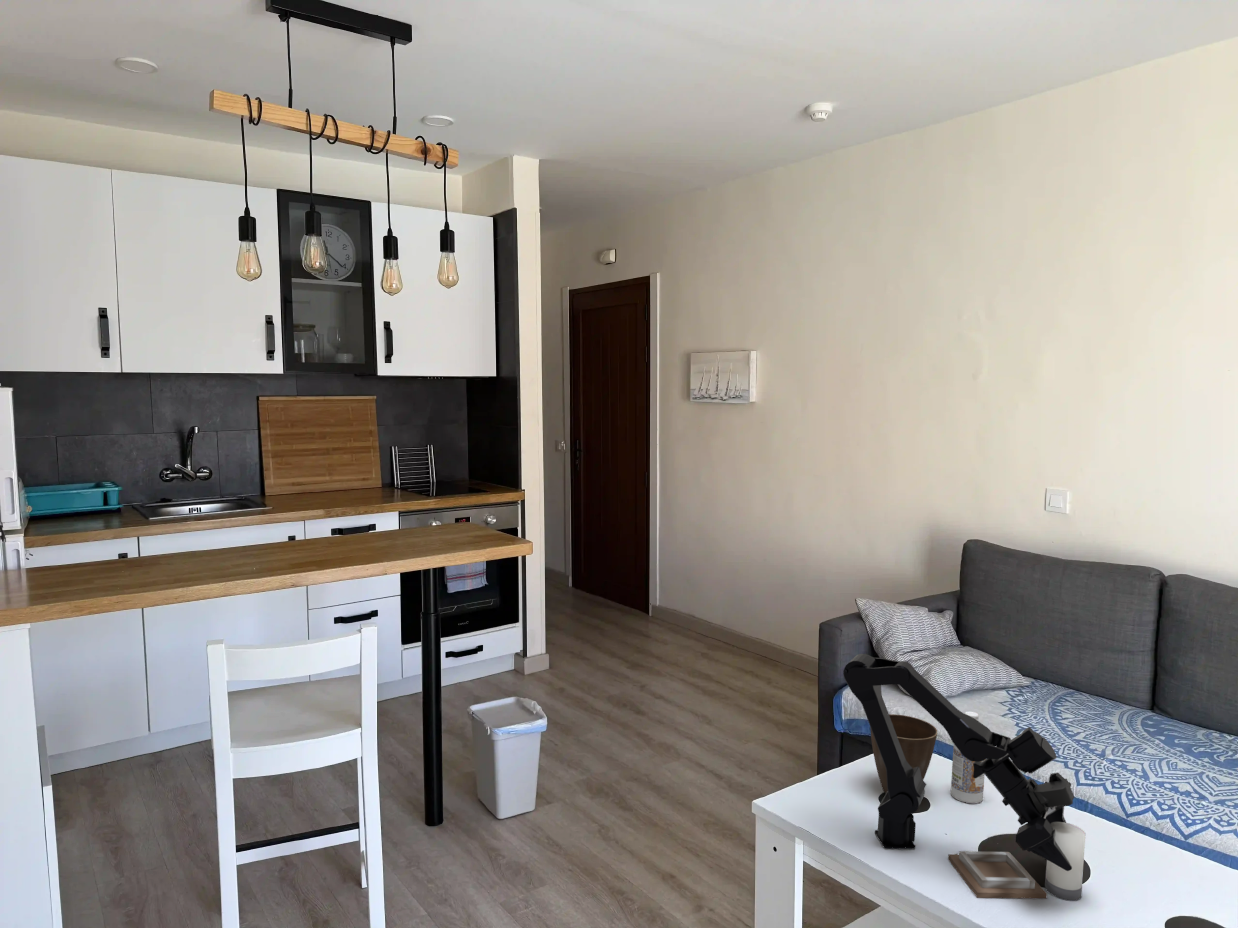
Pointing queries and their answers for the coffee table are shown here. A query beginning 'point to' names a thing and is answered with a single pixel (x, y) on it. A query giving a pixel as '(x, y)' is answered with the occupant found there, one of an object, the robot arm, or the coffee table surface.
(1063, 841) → the white cylinder
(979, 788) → the bath foam
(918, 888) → the coffee table surface
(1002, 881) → the walnut board
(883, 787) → the plant pot
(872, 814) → the coffee table surface
